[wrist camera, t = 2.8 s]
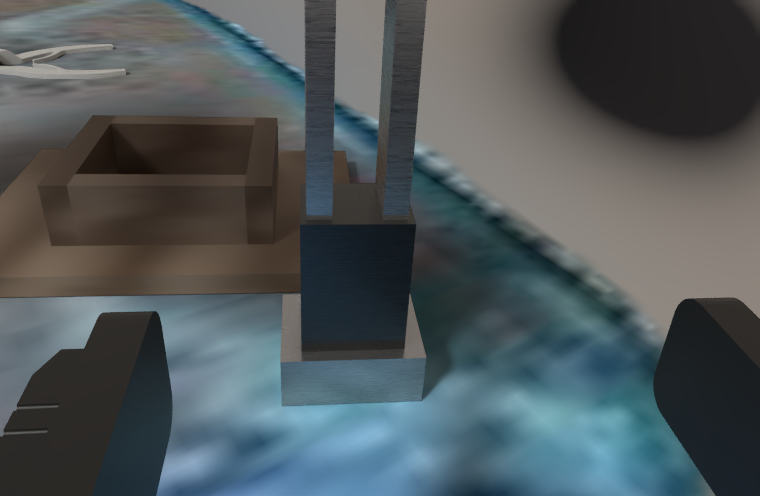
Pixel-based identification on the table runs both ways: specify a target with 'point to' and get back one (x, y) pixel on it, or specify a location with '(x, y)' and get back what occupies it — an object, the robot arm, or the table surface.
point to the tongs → (356, 234)
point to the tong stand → (157, 211)
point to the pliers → (50, 70)
